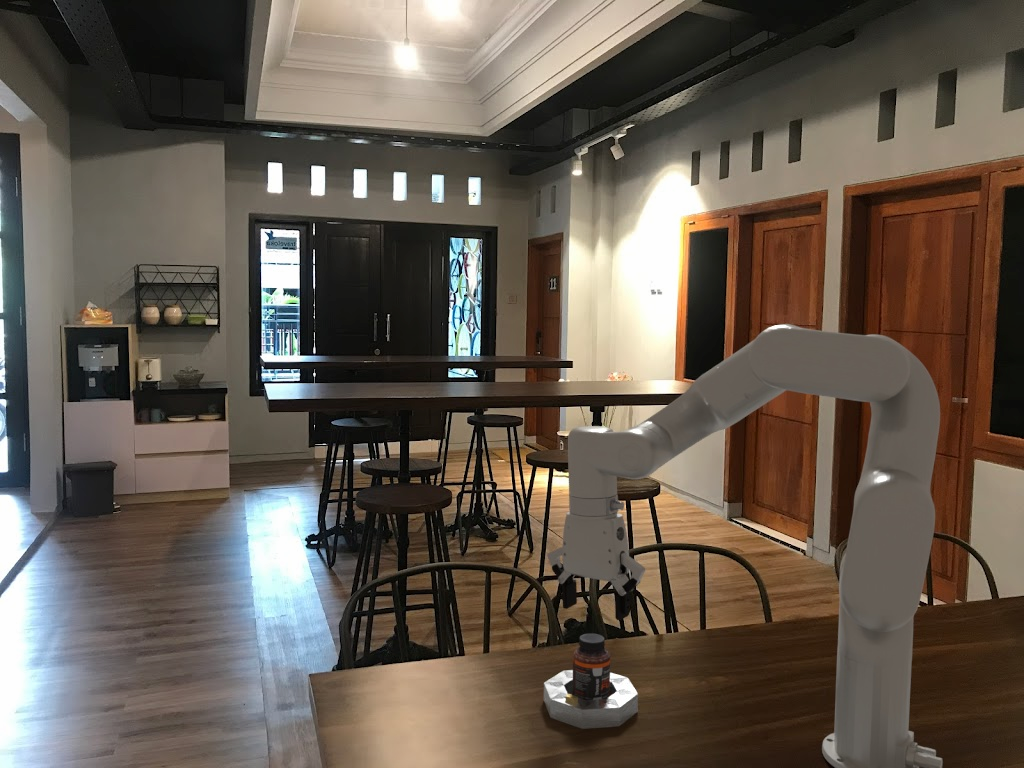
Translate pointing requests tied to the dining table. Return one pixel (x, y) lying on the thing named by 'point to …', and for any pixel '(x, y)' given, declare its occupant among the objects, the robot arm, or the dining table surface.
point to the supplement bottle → (591, 668)
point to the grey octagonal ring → (590, 702)
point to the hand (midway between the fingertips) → (595, 611)
